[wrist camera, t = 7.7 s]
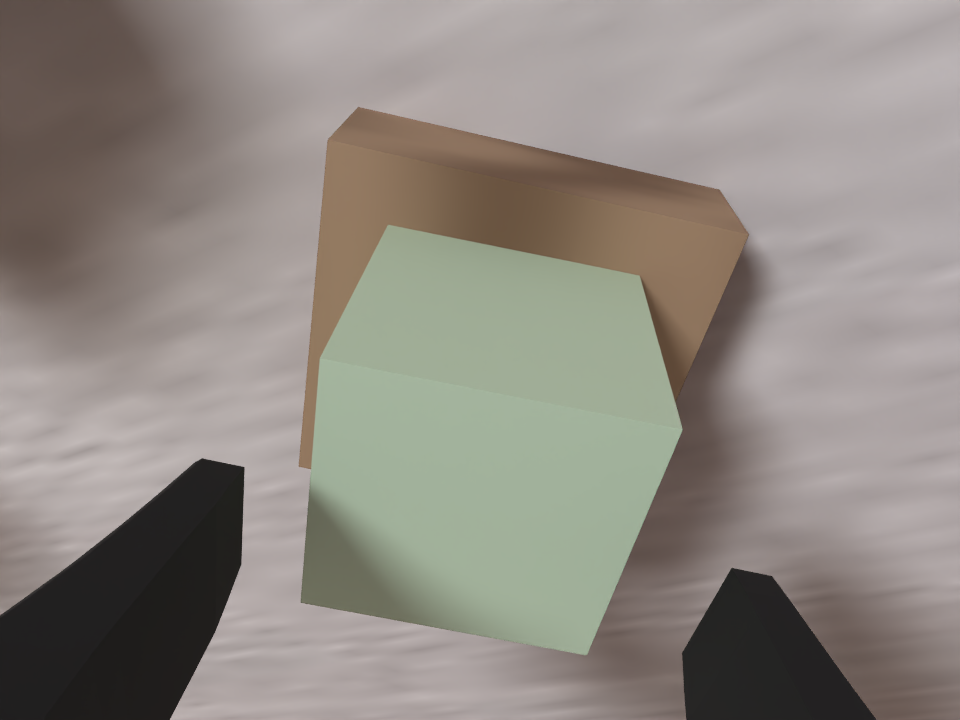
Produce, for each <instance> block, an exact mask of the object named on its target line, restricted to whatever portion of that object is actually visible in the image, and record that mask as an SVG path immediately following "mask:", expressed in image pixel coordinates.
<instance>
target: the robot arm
mask: <svg viewBox="0 0 960 720" xmlns="http://www.w3.org/2000/svg"><path fill="white" fill-rule="evenodd" d="M243 495H244V467H241V466H236V465H231V464H226V463H222V462H217V461H212V460H207V459H200V460H199V461H197V462H195V463H194V464H192V465H191V466H190V467H189V468H188V469H187V470H186V471H184V472H183V473H182V474H181V475H180V476H179V477H177V478H176V479H175V480H174V481H173V482H172V483H171V484H169V485H168V486H167V487H166V488H165V489H164V490H162V491H161V492H160V493H159V494H158V495H157V496H155V497H154V498H153V499H152V500H151V501H149V502H148V503H147V504H146V505H145V506H144V507H142V508H141V509H140V510H139V511H137V512H136V513H135V514H134V515H133V516H131V517H130V518H129V519H128V520H127V521H125V522H124V523H123V524H122V525H120V526H119V527H118V528H117V529H115V530H114V531H113V532H112V533H110V534H109V535H108V536H107V537H105V538H104V539H103V540H101V541H100V542H99V543H98V544H96V545H95V546H94V547H93V548H91V549H90V550H89V551H87V552H86V553H85V554H84V555H82V556H81V557H80V558H79V559H77V560H76V561H75V562H73V563H72V564H71V565H69V566H68V567H67V568H65V569H64V570H63V571H61V572H60V573H59V574H57V575H56V576H55V577H53V578H52V579H50V580H49V581H48V582H46V583H45V584H43V585H42V586H41V587H39V588H38V589H36V590H35V591H34V592H32V593H31V594H30V595H28V596H27V597H25V598H24V599H23V600H21V601H20V602H18V603H17V604H16V605H14V606H13V607H11V608H10V609H9V610H7V611H6V612H4V613H3V614H2V615H0V720H170V718H171V716H172V714H173V712H174V710H175V708H176V707H177V705H178V703H179V701H180V699H181V697H182V695H183V693H184V691H185V689H186V687H187V685H188V684H189V682H190V680H191V678H192V676H193V674H194V672H195V670H196V668H197V666H198V664H199V662H200V660H201V658H202V656H203V654H204V652H205V651H206V649H207V647H208V645H209V643H210V641H211V639H212V637H213V635H214V633H215V631H216V628H217V626H218V623H219V621H220V618H221V616H222V613H223V611H224V608H225V606H226V603H227V601H228V598H229V595H230V593H231V590H232V587H233V585H234V582H235V579H236V577H237V574H238V571H239V569H240V566H241V556H242V525H243ZM682 656H683V676H684V694H685V707H686V719H687V720H876V719H875V717H874V716H873V715H872V713H871V712H870V711H869V709H868V708H867V707H866V705H865V704H864V703H863V701H862V700H861V699H860V697H859V696H858V694H857V693H856V692H855V690H854V689H853V688H852V686H851V685H850V684H849V682H848V681H847V679H846V678H845V677H844V675H843V674H842V673H841V671H840V670H839V668H838V667H837V666H836V664H835V663H834V661H833V660H832V659H831V657H830V656H829V654H828V653H827V652H826V650H825V649H824V648H823V646H822V645H821V643H820V642H819V641H818V639H817V638H816V636H815V635H814V634H813V632H812V631H811V629H810V628H809V627H808V625H807V624H806V622H805V621H804V619H803V618H802V617H801V615H800V614H799V612H798V611H797V610H796V608H795V607H794V606H793V604H792V603H791V601H790V600H789V599H788V597H787V596H786V595H785V593H784V592H783V590H782V589H781V588H780V586H779V585H778V584H777V582H776V581H775V580H774V578H773V577H772V576H768V575H763V574H758V573H754V572H749V571H744V570H739V569H734V568H731V570H730V572H729V574H728V575H727V577H726V579H725V580H724V582H723V584H722V586H721V587H720V589H719V591H718V592H717V594H716V596H715V598H714V599H713V601H712V603H711V604H710V606H709V608H708V610H707V611H706V613H705V615H704V617H703V618H702V620H701V622H700V623H699V625H698V627H697V629H696V630H695V632H694V634H693V635H692V637H691V639H690V641H689V642H688V644H687V646H686V647H685V649H684V651H683V653H682Z"/></svg>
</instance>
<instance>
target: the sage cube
mask: <svg viewBox="0 0 960 720" xmlns="http://www.w3.org/2000/svg"><path fill="white" fill-rule="evenodd" d="M682 430H683V429H682V425H681V421H680V418H679V414H678V411H677V407H676V404H675V400H674V396H673V393H672V389H671V386H670V382H669V379H668V375H667V371H666V368H665V364H664V361H663V357H662V354H661V350H660V346H659V343H658V339H657V336H656V332H655V329H654V325H653V321H652V318H651V314H650V311H649V307H648V304H647V300H646V296H645V293H644V289H643V286H642V282H641V279H640V276H639V275H634V274H629V273H624V272H619V271H615V270H610V269H605V268H600V267H595V266H590V265H585V264H580V263H575V262H570V261H566V260H561V259H556V258H551V257H546V256H541V255H536V254H531V253H526V252H521V251H516V250H511V249H506V248H501V247H496V246H491V245H486V244H481V243H476V242H471V241H466V240H461V239H456V238H451V237H447V236H442V235H437V234H432V233H427V232H422V231H417V230H412V229H407V228H402V227H397V226H392V225H388V226H387V228H386V230H385V232H384V234H383V236H382V237H381V239H380V241H379V243H378V245H377V247H376V249H375V251H374V253H373V255H372V257H371V259H370V261H369V263H368V265H367V267H366V269H365V271H364V273H363V275H362V277H361V279H360V281H359V282H358V284H357V286H356V288H355V290H354V292H353V294H352V296H351V298H350V300H349V302H348V304H347V306H346V308H345V310H344V312H343V314H342V316H341V318H340V320H339V322H338V324H337V326H336V328H335V329H334V331H333V333H332V335H331V337H330V339H329V341H328V343H327V345H326V347H325V349H324V351H323V353H322V355H321V357H320V362H319V374H318V387H317V400H316V413H315V426H314V438H313V451H312V464H311V477H310V489H309V502H308V515H307V528H306V541H305V553H304V566H303V579H302V592H301V603H305V604H311V605H316V606H322V607H327V608H332V609H338V610H343V611H349V612H354V613H360V614H365V615H370V616H376V617H381V618H387V619H392V620H397V621H403V622H408V623H414V624H419V625H425V626H430V627H435V628H441V629H446V630H452V631H457V632H462V633H468V634H473V635H479V636H484V637H490V638H495V639H500V640H506V641H511V642H517V643H522V644H527V645H533V646H538V647H544V648H549V649H555V650H560V651H565V652H571V653H576V654H582V655H587V654H588V651H589V649H590V646H591V644H592V642H593V639H594V637H595V635H596V632H597V630H598V628H599V625H600V623H601V621H602V618H603V616H604V614H605V611H606V609H607V607H608V604H609V602H610V600H611V597H612V595H613V592H614V590H615V588H616V585H617V583H618V581H619V578H620V576H621V574H622V571H623V569H624V567H625V564H626V562H627V560H628V557H629V555H630V553H631V550H632V548H633V545H634V543H635V541H636V538H637V536H638V534H639V531H640V529H641V527H642V524H643V522H644V520H645V517H646V515H647V513H648V510H649V508H650V506H651V503H652V501H653V498H654V496H655V494H656V491H657V489H658V487H659V484H660V482H661V480H662V477H663V475H664V473H665V470H666V468H667V466H668V463H669V461H670V459H671V456H672V454H673V452H674V449H675V447H676V444H677V442H678V440H679V437H680V435H681V433H682Z"/></svg>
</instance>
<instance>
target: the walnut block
mask: <svg viewBox="0 0 960 720" xmlns="http://www.w3.org/2000/svg"><path fill="white" fill-rule="evenodd" d="M388 225H392V226H397V227H402V228H407V229H412V230H417V231H422V232H427V233H432V234H437V235H442V236H447V237H451V238H456V239H461V240H466V241H471V242H476V243H481V244H486V245H491V246H496V247H501V248H506V249H511V250H516V251H521V252H526V253H531V254H536V255H541V256H546V257H551V258H556V259H561V260H566V261H570V262H575V263H580V264H585V265H590V266H595V267H600V268H605V269H610V270H615V271H619V272H624V273H629V274H634V275H639V276H640V279H641V282H642V286H643V289H644V293H645V296H646V300H647V304H648V307H649V311H650V314H651V318H652V321H653V325H654V329H655V332H656V336H657V339H658V343H659V346H660V350H661V354H662V357H663V361H664V364H665V368H666V371H667V375H668V379H669V382H670V386H671V389H672V393H673V396H674V400H675V402H676V400H677V398H678V395H679V393H680V391H681V388H682V386H683V384H684V382H685V379H686V377H687V375H688V372H689V370H690V368H691V366H692V363H693V361H694V359H695V356H696V354H697V352H698V350H699V347H700V345H701V343H702V340H703V338H704V336H705V334H706V331H707V329H708V327H709V324H710V322H711V320H712V318H713V315H714V313H715V311H716V309H717V306H718V304H719V302H720V299H721V297H722V295H723V293H724V290H725V288H726V286H727V283H728V281H729V279H730V277H731V274H732V272H733V270H734V267H735V265H736V263H737V261H738V258H739V256H740V254H741V251H742V249H743V247H744V245H745V242H746V240H747V238H748V235H749V234H748V232H747V231H746V229H745V228H744V226H743V225H742V223H741V222H740V220H739V219H738V217H737V216H736V214H735V213H734V211H733V210H732V208H731V207H730V205H729V204H728V202H727V200H726V199H725V197H724V196H723V194H722V193H721V191H720V190H718V189H714V188H710V187H705V186H701V185H696V184H692V183H688V182H683V181H679V180H675V179H670V178H666V177H661V176H657V175H653V174H648V173H644V172H640V171H635V170H631V169H627V168H622V167H618V166H613V165H609V164H605V163H600V162H596V161H592V160H587V159H583V158H578V157H574V156H570V155H565V154H561V153H557V152H552V151H548V150H544V149H539V148H535V147H530V146H526V145H522V144H517V143H513V142H509V141H504V140H500V139H496V138H491V137H487V136H482V135H478V134H474V133H469V132H465V131H461V130H456V129H452V128H447V127H443V126H439V125H434V124H430V123H426V122H421V121H417V120H413V119H408V118H404V117H399V116H395V115H391V114H386V113H382V112H378V111H373V110H369V109H365V108H360V107H358V108H357V109H356V110H355V111H354V112H353V113H352V114H351V115H350V116H349V118H348V119H347V120H346V121H345V122H344V123H343V124H342V125H341V126H340V127H339V128H338V129H337V130H336V131H335V132H334V134H333V135H332V136H331V137H330V138H329V139H328V142H327V153H326V165H325V176H324V187H323V198H322V210H321V221H320V232H319V243H318V255H317V266H316V277H315V289H314V300H313V311H312V322H311V334H310V345H309V356H308V367H307V379H306V390H305V401H304V412H303V424H302V435H301V446H300V457H299V467H303V468H308V469H311V464H312V451H313V438H314V426H315V413H316V400H317V387H318V374H319V362H320V357H321V355H322V353H323V351H324V349H325V347H326V345H327V343H328V341H329V339H330V337H331V335H332V333H333V331H334V329H335V328H336V326H337V324H338V322H339V320H340V318H341V316H342V314H343V312H344V310H345V308H346V306H347V304H348V302H349V300H350V298H351V296H352V294H353V292H354V290H355V288H356V286H357V284H358V282H359V281H360V279H361V277H362V275H363V273H364V271H365V269H366V267H367V265H368V263H369V261H370V259H371V257H372V255H373V253H374V251H375V249H376V247H377V245H378V243H379V241H380V239H381V237H382V236H383V234H384V232H385V230H386V228H387V226H388Z"/></svg>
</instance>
